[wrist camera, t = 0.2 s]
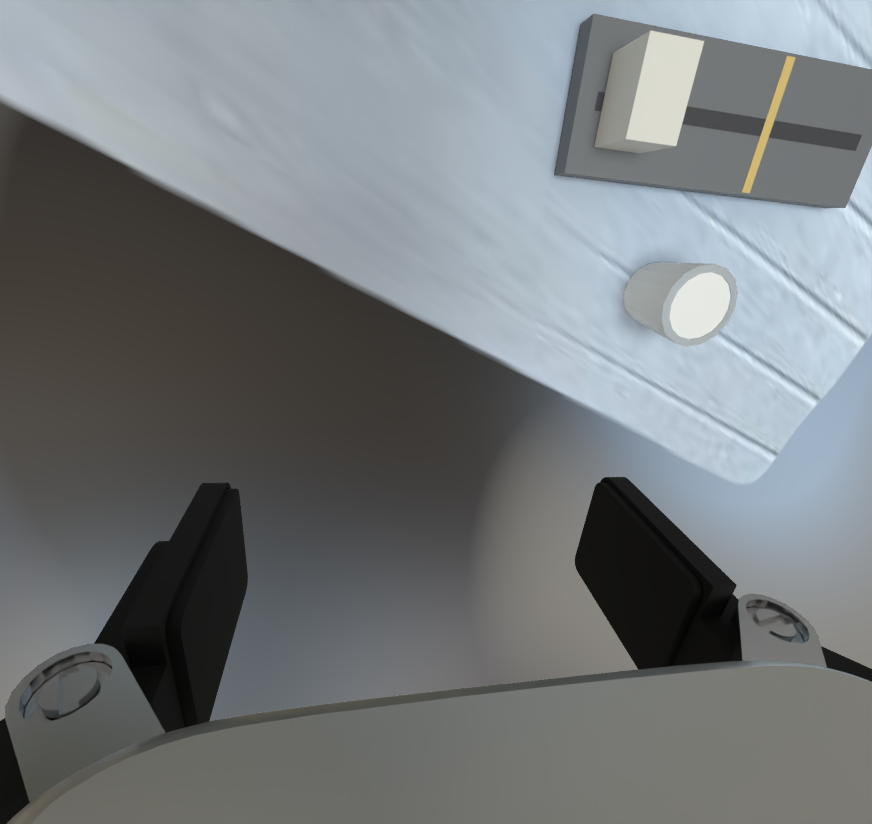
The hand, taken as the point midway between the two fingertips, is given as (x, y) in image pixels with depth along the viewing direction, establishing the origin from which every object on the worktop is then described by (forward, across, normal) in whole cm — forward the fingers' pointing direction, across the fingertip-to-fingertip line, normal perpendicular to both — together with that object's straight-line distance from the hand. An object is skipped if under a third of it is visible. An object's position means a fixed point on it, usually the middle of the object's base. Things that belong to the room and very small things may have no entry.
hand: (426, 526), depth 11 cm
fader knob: (+28, -18, -17) cm, 38 cm away
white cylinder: (+31, -27, -3) cm, 41 cm away
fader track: (+31, -28, -17) cm, 45 cm away
